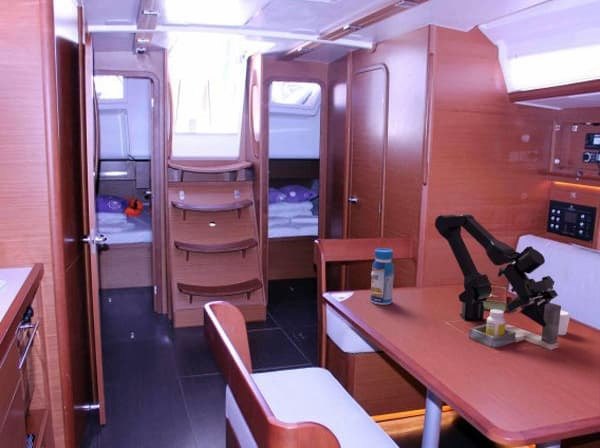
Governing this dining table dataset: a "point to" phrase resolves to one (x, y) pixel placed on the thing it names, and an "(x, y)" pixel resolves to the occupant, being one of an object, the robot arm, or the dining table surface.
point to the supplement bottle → (495, 323)
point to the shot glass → (563, 322)
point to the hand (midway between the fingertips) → (548, 325)
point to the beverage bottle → (382, 277)
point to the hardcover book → (496, 299)
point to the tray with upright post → (523, 332)
